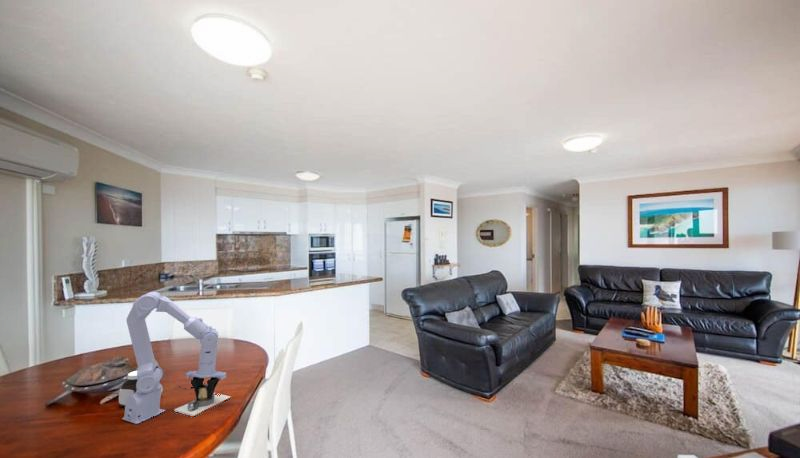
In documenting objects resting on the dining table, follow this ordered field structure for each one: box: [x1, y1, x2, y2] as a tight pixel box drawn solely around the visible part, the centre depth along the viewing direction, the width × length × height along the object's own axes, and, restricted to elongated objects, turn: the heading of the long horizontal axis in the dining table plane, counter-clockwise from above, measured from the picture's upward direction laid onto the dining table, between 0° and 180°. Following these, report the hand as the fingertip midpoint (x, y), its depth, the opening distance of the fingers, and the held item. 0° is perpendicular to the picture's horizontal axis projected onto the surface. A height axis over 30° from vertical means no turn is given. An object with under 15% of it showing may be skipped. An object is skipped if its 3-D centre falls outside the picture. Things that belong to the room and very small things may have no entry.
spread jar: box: [118, 370, 164, 408], centre depth 123 cm, size 12×11×12 cm
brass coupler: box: [198, 383, 210, 402], centre depth 121 cm, size 4×4×7 cm
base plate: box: [173, 392, 231, 416], centre depth 120 cm, size 16×10×3 cm, turn 161°
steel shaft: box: [187, 401, 199, 411], centre depth 115 cm, size 3×3×2 cm
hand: (204, 397), depth 121 cm, fingers closed on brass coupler, 4 cm apart
